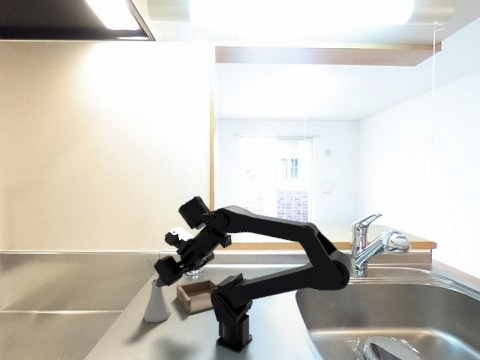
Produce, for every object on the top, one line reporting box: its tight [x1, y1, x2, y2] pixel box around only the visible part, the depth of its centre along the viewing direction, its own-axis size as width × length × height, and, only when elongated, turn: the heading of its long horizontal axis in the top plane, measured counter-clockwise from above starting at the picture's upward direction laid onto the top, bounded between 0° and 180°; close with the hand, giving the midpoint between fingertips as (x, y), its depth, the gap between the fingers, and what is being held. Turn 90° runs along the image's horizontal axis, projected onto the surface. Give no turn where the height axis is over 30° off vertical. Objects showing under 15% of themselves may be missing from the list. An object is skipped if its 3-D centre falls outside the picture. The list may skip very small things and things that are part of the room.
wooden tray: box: [176, 277, 219, 316], centre depth 81 cm, size 12×12×4 cm
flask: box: [143, 277, 171, 323], centre depth 72 cm, size 7×7×10 cm
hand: (169, 279), depth 70 cm, fingers open, 9 cm apart
